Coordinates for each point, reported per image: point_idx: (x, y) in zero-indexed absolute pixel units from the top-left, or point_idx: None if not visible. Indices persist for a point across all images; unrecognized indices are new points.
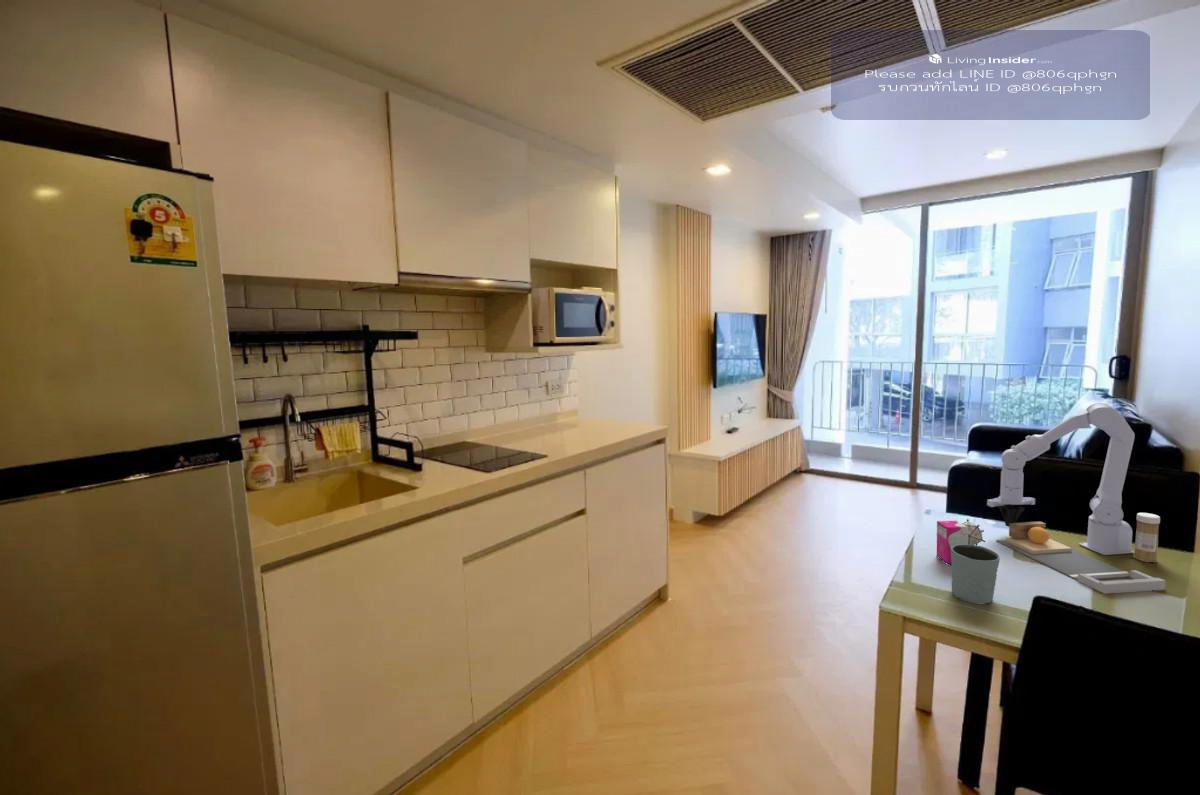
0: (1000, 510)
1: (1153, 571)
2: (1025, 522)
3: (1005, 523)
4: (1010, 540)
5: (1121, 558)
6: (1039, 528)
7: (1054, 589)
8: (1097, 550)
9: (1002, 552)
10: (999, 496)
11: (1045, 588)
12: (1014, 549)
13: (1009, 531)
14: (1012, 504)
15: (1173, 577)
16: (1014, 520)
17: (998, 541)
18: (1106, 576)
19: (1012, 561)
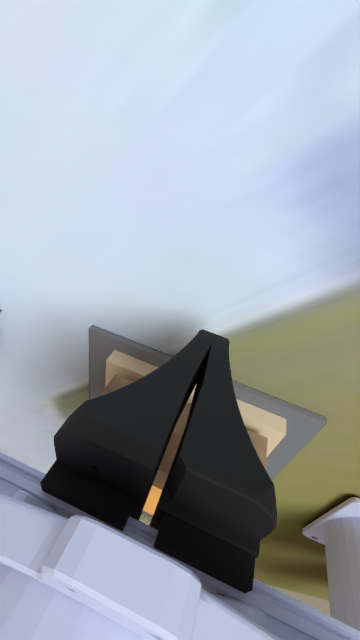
0: (128, 385)
1: (281, 567)
2: (163, 474)
3: (195, 337)
4: (106, 378)
5: (320, 547)
6: (144, 509)
7: (32, 463)
8: (318, 528)
9: (47, 373)
10: (42, 565)
11: (21, 456)
12: (90, 389)
13: (101, 393)
14: (150, 543)
15: (278, 578)
16: (189, 412)
17: (89, 336)
18: (152, 515)
19: (35, 404)
